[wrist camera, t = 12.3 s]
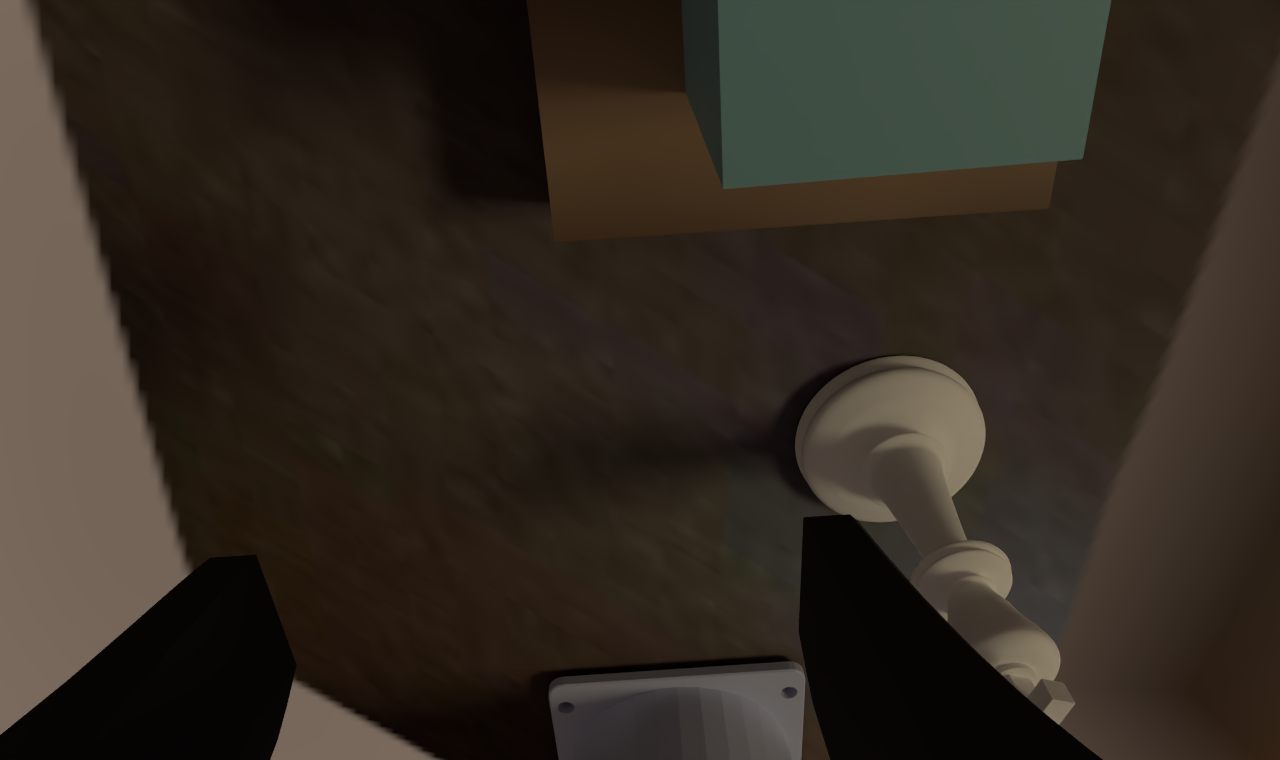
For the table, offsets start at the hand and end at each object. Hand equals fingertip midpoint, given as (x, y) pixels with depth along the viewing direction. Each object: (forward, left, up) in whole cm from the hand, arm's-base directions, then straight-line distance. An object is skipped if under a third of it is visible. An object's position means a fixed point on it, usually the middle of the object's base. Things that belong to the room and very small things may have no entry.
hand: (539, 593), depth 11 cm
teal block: (+7, -5, -8) cm, 12 cm away
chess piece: (-5, -8, -11) cm, 14 cm away
